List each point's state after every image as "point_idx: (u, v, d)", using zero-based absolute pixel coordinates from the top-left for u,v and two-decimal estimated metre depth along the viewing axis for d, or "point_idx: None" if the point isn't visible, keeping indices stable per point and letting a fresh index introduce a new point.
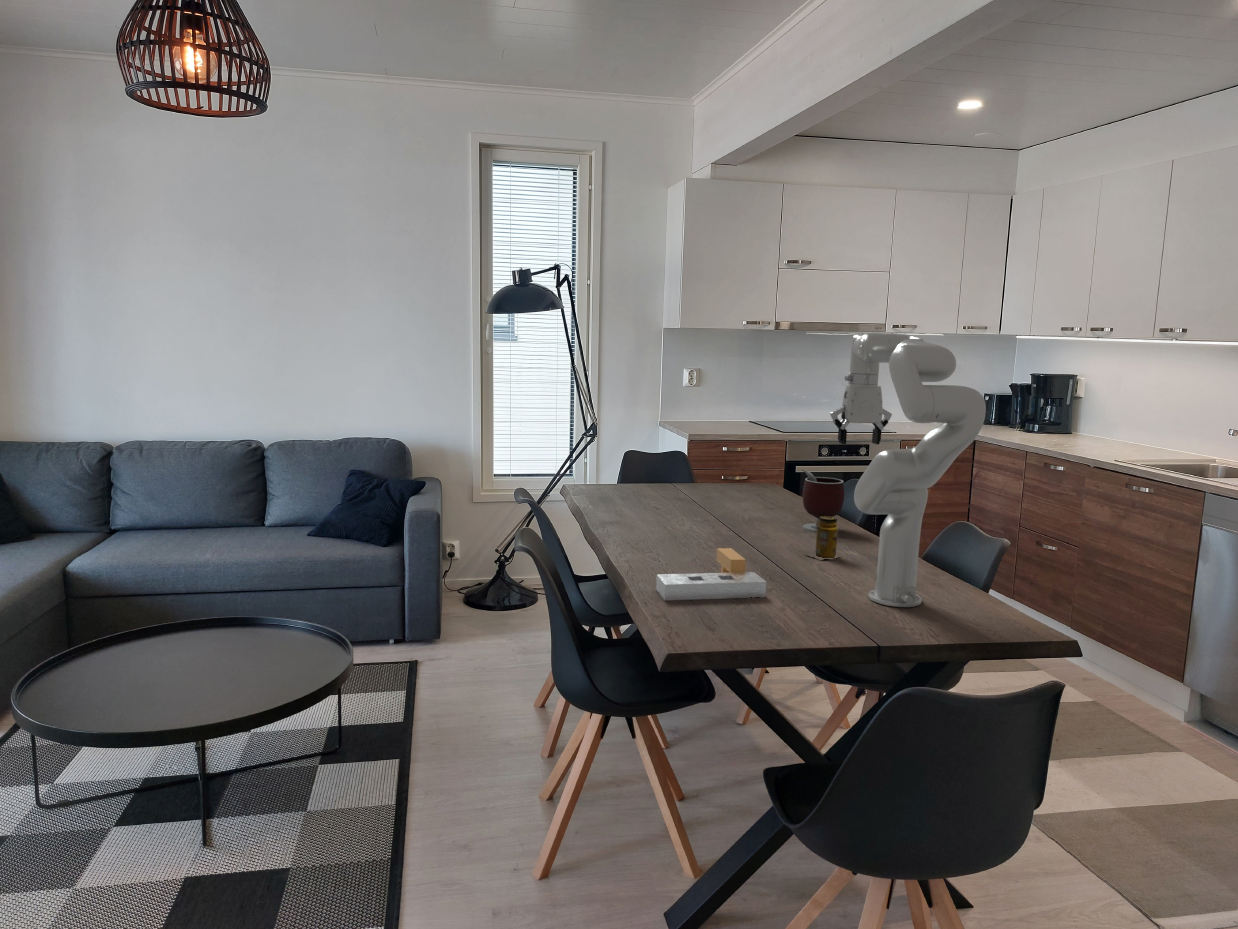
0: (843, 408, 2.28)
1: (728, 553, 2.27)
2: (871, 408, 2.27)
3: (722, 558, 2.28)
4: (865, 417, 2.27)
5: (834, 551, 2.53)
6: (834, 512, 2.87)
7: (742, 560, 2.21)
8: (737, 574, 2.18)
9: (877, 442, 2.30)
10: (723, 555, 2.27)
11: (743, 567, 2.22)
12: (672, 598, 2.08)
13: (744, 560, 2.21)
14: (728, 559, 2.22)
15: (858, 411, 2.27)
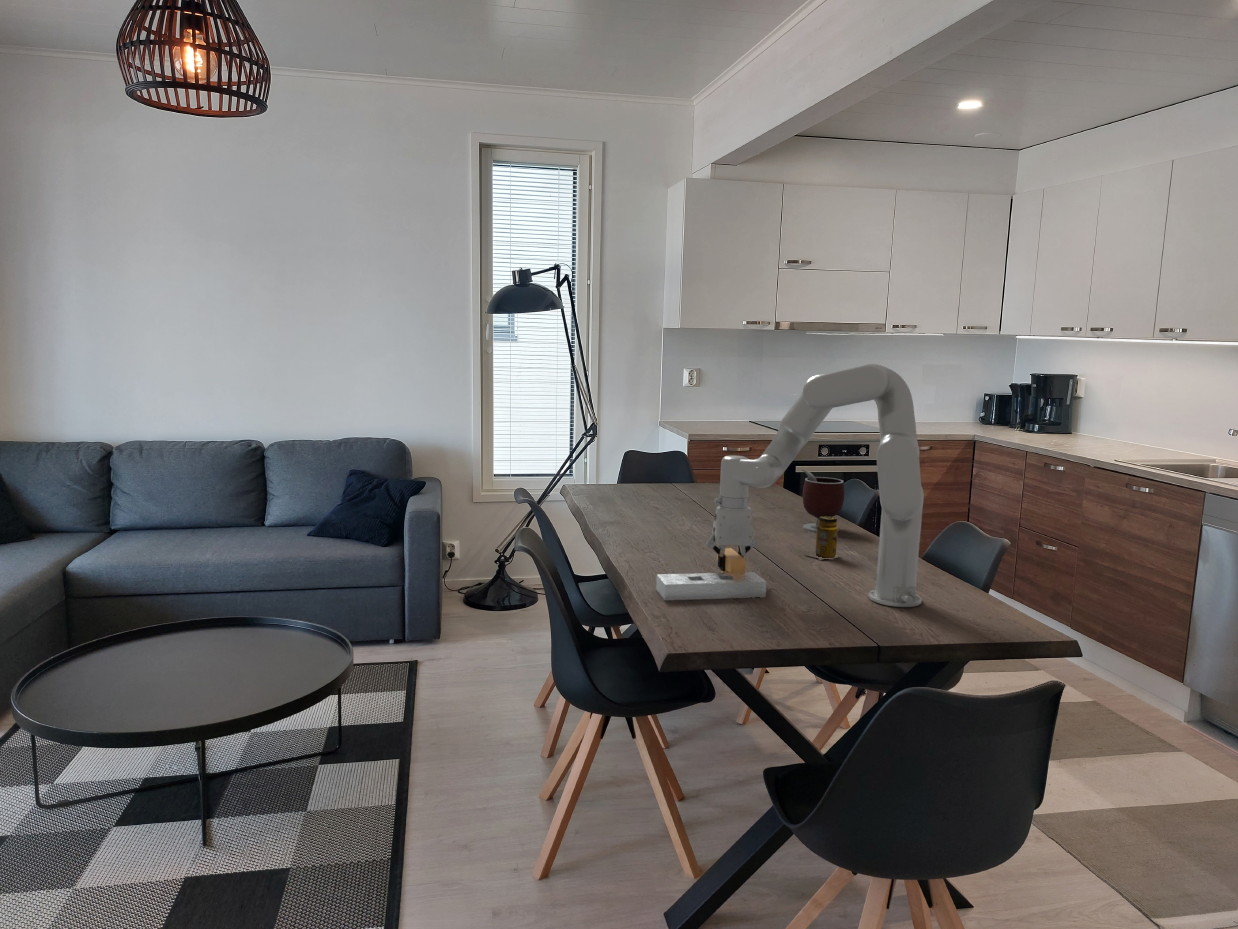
0: None
1: (728, 553, 2.27)
2: (741, 531, 2.24)
3: None
4: (734, 540, 2.24)
5: (834, 551, 2.53)
6: (834, 512, 2.87)
7: (742, 560, 2.21)
8: (737, 574, 2.18)
9: None
10: None
11: (743, 567, 2.22)
12: (672, 598, 2.08)
13: (744, 560, 2.21)
14: (728, 559, 2.22)
15: (727, 535, 2.23)
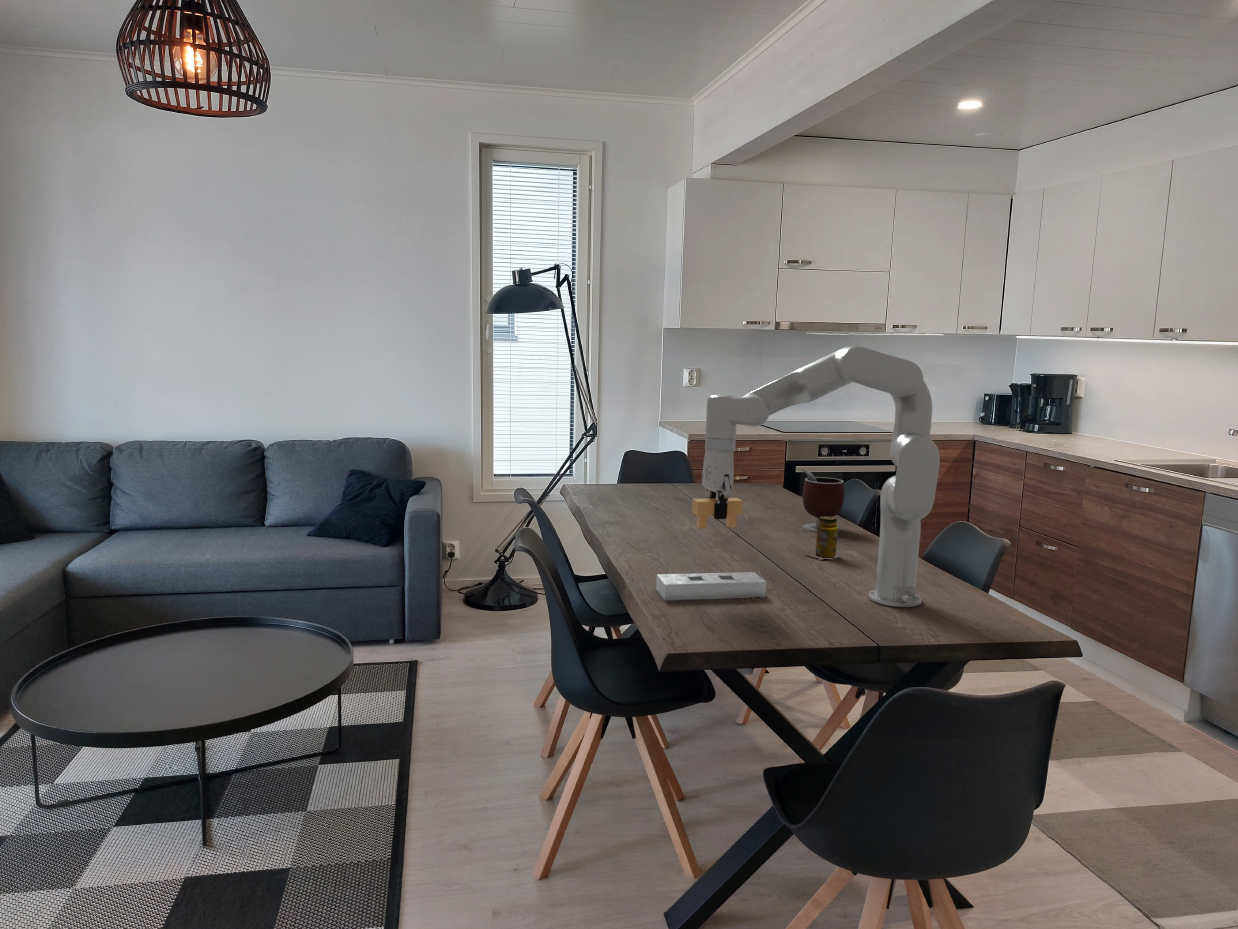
0: None
1: None
2: (710, 474, 2.10)
3: None
4: (707, 483, 2.12)
5: (834, 551, 2.53)
6: (834, 512, 2.87)
7: (696, 502, 2.11)
8: (737, 574, 2.18)
9: None
10: None
11: (696, 509, 2.11)
12: (672, 598, 2.08)
13: (697, 502, 2.10)
14: None
15: (705, 475, 2.14)
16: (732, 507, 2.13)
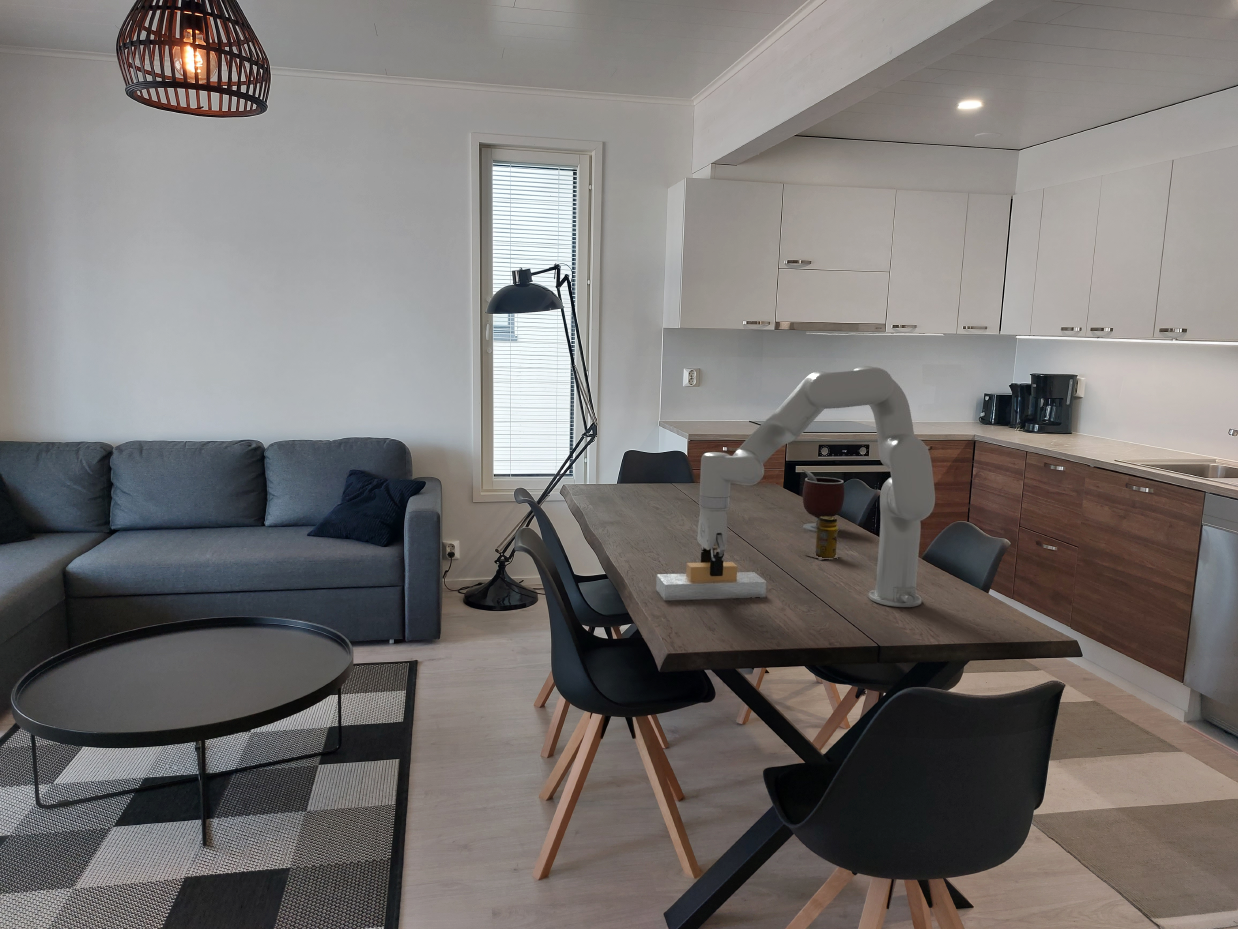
0: None
1: None
2: (704, 532, 2.10)
3: None
4: (701, 540, 2.12)
5: (834, 551, 2.53)
6: (834, 512, 2.87)
7: (689, 567, 2.11)
8: (737, 574, 2.18)
9: None
10: None
11: (689, 574, 2.11)
12: (672, 598, 2.08)
13: (690, 567, 2.11)
14: None
15: (699, 532, 2.14)
16: (726, 572, 2.12)
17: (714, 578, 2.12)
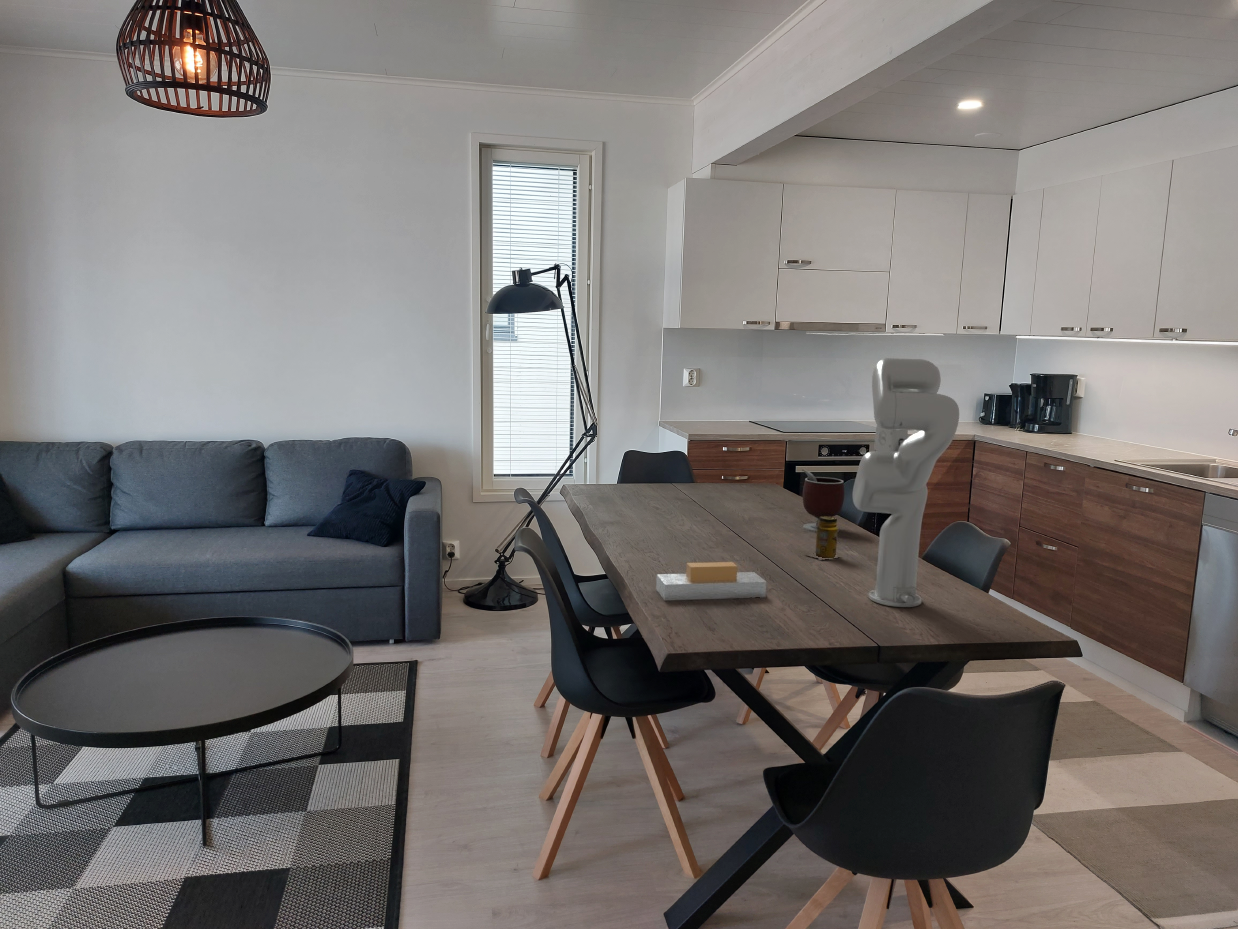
0: None
1: (712, 563, 2.14)
2: (885, 439, 2.29)
3: None
4: (881, 447, 2.30)
5: (834, 551, 2.53)
6: (834, 512, 2.87)
7: (689, 567, 2.11)
8: (737, 574, 2.18)
9: None
10: None
11: (689, 574, 2.11)
12: (672, 598, 2.08)
13: (690, 567, 2.11)
14: None
15: (878, 440, 2.32)
16: (726, 572, 2.12)
17: (714, 578, 2.12)
